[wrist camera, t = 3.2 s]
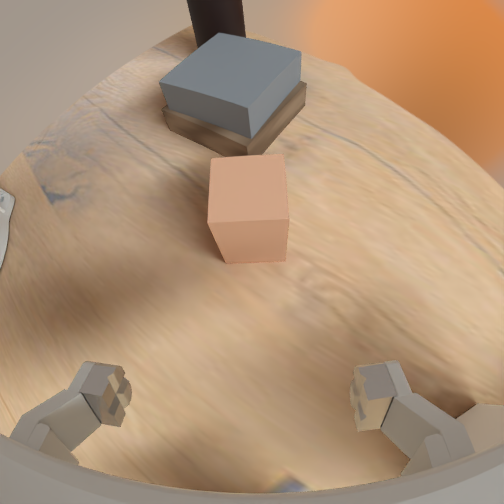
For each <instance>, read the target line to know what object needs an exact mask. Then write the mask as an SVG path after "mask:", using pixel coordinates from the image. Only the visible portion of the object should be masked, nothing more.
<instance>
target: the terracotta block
mask: <svg viewBox="0 0 504 504" xmlns="http://www.w3.org/2000/svg"><path fill="white" fill-rule="evenodd" d="M207 223H208V225H209V228H210V230H211V232H212V234H213V236H214V239H215V241H216V243H217V245H218V247H219V249H220V252H221V254H222V256H223V258H224V260H225V262H226V264H232V263H259V262H284V261H286V250H287V239H288V228H289V208H288V196H287V184H286V172H285V161H284V154H271V155H250V156H234V157H220V158H211V167H210V183H209V201H208V220H207Z"/></svg>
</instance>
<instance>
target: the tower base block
mask: <svg viewBox="0 0 504 504" xmlns="http://www.w3.org/2000/svg"><path fill="white" fill-rule="evenodd" d="M306 85H307V83H304V82H302V81H300V82H299V83H298V84H297V85H296V86H295V87H294V88H293V90H292V91H291V92H290V93H289V94H288V95H287V97H286V98H285V99H284V100H283V101H282V103H281V104H280V105H279V106H278V107H277V109H276V110H275V111H274V112H273V113H272V115H271V116H270V117H269V118H268V119H267V121H266V122H265V123H264V124H263V126H262V127H261V128H260V129H259V130H258V132H257V133H256V134H255V135H254V137H253V138H252V139H250V138H247V137H245V136H242V135H240V134H237V133H235V132H232V131H229V130H227V129H224V128H221V127H219V126H216V125H213V124H211V123H208V122H205V121H202V120H199V119H197V118H194V117H191V116H188V115H185V114H182V113H179V112H176V111H173V110H170V109H169V107H168V105H166V106H165V107H164V108H163V109H162V112H163V114H164V117H165V119H166V122H167V124H168V127H169V129H170V130H171V131H173V132H175V133H177V134H179V135H181V136H184V137H186V138H188V139H190V140H192V141H194V142H196V143H198V144H201V145H203V146H205V147H207V148H209V149H211V150H213V151H215V152H217V153H219V154H221V155H223V156H225V157H234V156H250V155H262V154H263V153H264V152H265V150H266V149H267V148H268V147H269V146H270V145H271V143H272V142H273V141H274V140H275V139H276V138H277V136H278V135H279V134H280V133H281V132H282V131H283V130H284V128H285V127H286V126H287V125H288V124H289V123H290V122H291V121H292V119H293V118H294V117H295V116H296V115H297V114H298V113H299V112H300V110H301V109H302V108H303V107H304V106H305V98H306Z"/></svg>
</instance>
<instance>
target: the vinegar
mask: <svg viewBox="0 0 504 504" xmlns="http://www.w3.org/2000/svg"><path fill="white" fill-rule="evenodd" d="M187 3H188V8H189V12H190V16H191V21H192V25H193V29H194V33H195V38H196V42H197V46H198V48H199V47H201V46H202V45H203V44H204V43H206V42H207V41H208V40H210V39H211V38H212V37H214V36H215V35H216V34H218V33H224V34H229V35H235V36H240V37H245V38H246V34H245V25H244V15H243V6H242V0H187Z"/></svg>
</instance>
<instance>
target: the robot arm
mask: <svg viewBox="0 0 504 504" xmlns="http://www.w3.org/2000/svg"><path fill="white" fill-rule="evenodd" d="M14 201H15V198H14V196H12V195H11V194H9V193H7V192H6V191H4V190H2V189H1V188H0V268H1V265H2V262H3V259H4V255H5V251H6V247H7V241H8V231H9V218H10V215H11V212H12V209H13V206H14ZM124 375H125V372H124V370H123V368H122V367H121V366H117V365H110V364H104V363H96V362H90V361H86V362H84V363H83V364H82V366H81V368H80V369H79V371H78V373H77V374H76V376H75V378H74V379H73V381H72V383H71V385H70V386H69V388H68V390H65V389H64V390H63V391H61V392H59V393H58V394H56V395H55V396H53V397H51V398H50V399H48V400H46V401H45V402H43V403H42V404H40V405H38V406H37V407H35V408H33V409H32V410H30V411H28V412H27V413H25V414H23V415H22V416H21V418H20V420H19V422H18V423H17V425H16V427H15V428H14V430H13V432H12V434H11V436H10V437H6V436H4V435H2V434H0V504H504V440H503V441H501V442H499V443H497V444H494V445H492V446H490V447H488V448H485V449H483V450H481V451H478V452H475V450H474V447H473V445H472V443H471V440H470V438H469V436H468V433H467V431H466V429H465V427H464V425H463V424H462V423H460V422H459V421H457V420H456V419H454V418H453V417H451V416H450V415H448V414H447V413H445V412H444V411H442V410H441V409H439V408H438V407H436V406H435V405H433V404H432V403H430V402H429V401H428V400H426V399H425V398H423V397H422V396H420V395H419V394H417V393H412V391H411V389H410V386H409V384H408V382H407V379H406V377H405V375H404V372H403V370H402V368H401V366H400V363H399V362H398V361H397V360H393V361H386V362H379V363H371V364H364V365H356V366H355V368H354V371H353V375H354V380H353V381H352V382H351V385H350V402H351V407H352V408H354V409H355V410H356V411H355V414H354V420H355V424H356V429H357V432H359V431H367V430H374V429H380V430H381V431H382V432H383V433H384V434H385V435H386V436H387V437H388V438H389V439H390V440H391V441H392V442H393V443H394V444H395V445H396V446H397V447H398V448H399V449H400V450H401V451H402V452H403V453H405V454H406V455H407V456H408V457H409V458H410V459H411V460H410V461H409V463H408V464H407V465H406V467H405V468H404V469H403V471H402V472H401V477H397V478H393V479H388V480H384V481H379V482H374V483H368V484H363V485H357V486H351V487H344V488H336V489H328V490H319V491H307V492H292V493H228V492H213V491H201V490H192V489H183V488H176V487H169V486H163V485H157V484H151V483H146V482H141V481H136V480H131V479H127V478H122V477H118V476H114V475H110V474H106V473H103V472H99V471H95V470H92V469H89V468H85V467H82V466H79V465H78V464H79V461H78V459H77V458H76V457H75V456H74V455H73V454H72V453H71V451H72V450H74V449H75V448H76V447H77V446H78V445H79V444H80V443H82V442H83V441H84V440H85V439H86V438H87V437H88V436H89V435H91V434H92V433H93V432H94V431H95V430H96V429H97V428H98V427H100V426H101V424H105V425H111V426H117V427H121V424H122V422H123V419H124V417H125V414H126V413H125V411H124V408H125V407H127V406H128V405H129V404H130V401H131V397H132V389H131V385H130V383H129V381H128V380H127V379H126V378H124Z"/></svg>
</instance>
